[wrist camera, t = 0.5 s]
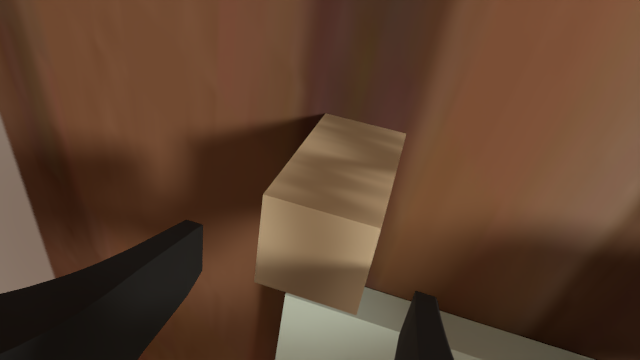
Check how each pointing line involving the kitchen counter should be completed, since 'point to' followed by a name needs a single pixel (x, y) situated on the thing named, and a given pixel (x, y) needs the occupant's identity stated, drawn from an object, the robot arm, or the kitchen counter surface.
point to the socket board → (392, 333)
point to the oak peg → (328, 212)
